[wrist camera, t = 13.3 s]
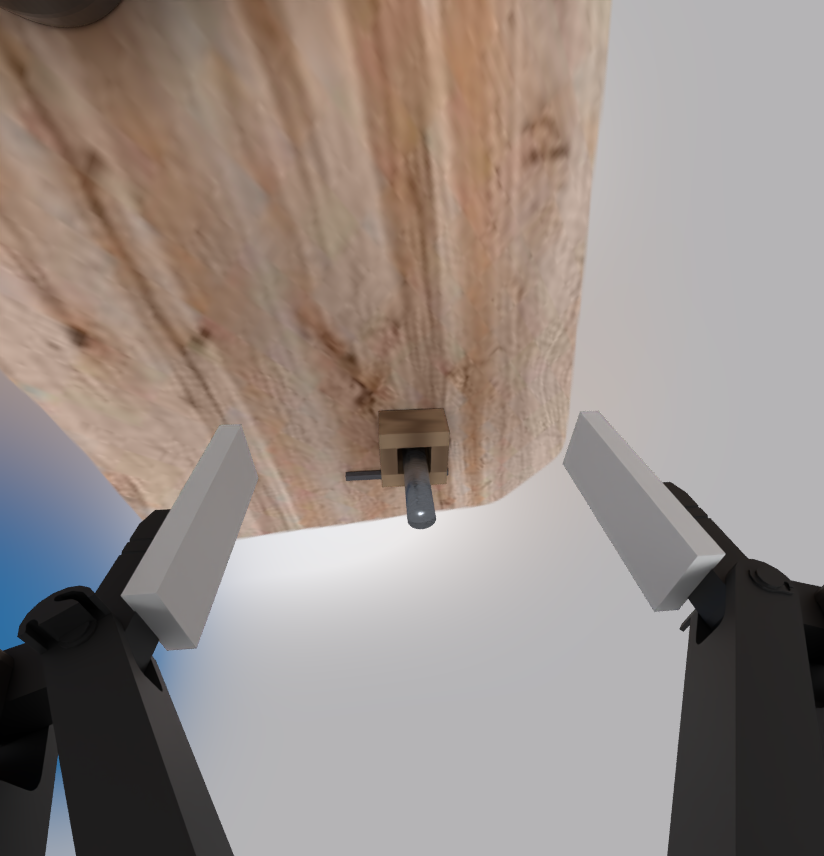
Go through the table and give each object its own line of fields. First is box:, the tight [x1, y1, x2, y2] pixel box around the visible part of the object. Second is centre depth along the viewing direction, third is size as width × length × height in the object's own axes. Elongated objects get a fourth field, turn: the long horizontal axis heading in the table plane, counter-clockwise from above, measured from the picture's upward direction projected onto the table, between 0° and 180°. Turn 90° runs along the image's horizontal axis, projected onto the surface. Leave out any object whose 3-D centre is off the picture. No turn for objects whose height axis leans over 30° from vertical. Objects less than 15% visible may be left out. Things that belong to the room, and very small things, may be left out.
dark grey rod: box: [345, 467, 448, 481], centre depth 51 cm, size 14×1×1 cm, turn 90°
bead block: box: [379, 409, 450, 487], centre depth 46 cm, size 8×8×5 cm
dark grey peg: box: [402, 447, 436, 529], centre depth 42 cm, size 3×3×14 cm
